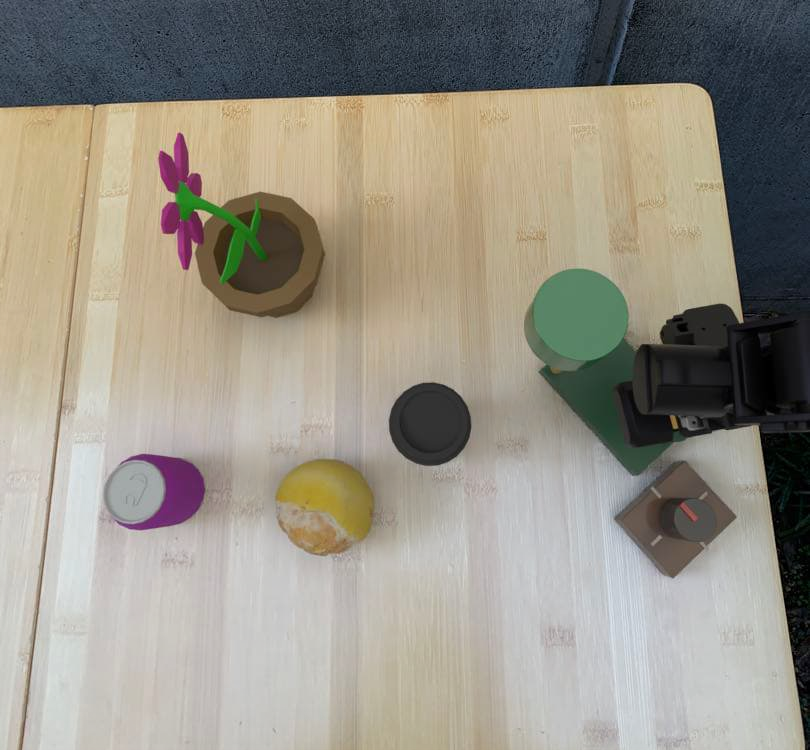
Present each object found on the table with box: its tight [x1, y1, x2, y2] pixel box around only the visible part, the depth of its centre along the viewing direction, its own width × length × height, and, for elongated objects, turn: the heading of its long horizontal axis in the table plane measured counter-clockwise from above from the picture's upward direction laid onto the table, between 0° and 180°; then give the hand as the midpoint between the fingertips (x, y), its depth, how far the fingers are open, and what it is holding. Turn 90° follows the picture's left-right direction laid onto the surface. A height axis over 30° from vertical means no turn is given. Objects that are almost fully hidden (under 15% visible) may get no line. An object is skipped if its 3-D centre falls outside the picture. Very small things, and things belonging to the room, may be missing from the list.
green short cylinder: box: [523, 268, 630, 371], centre depth 59 cm, size 8×8×5 cm
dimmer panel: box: [613, 460, 738, 579], centre depth 76 cm, size 9×10×3 cm
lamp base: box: [538, 337, 689, 477], centre depth 79 cm, size 16×10×4 cm, turn 40°
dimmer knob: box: [659, 498, 717, 542], centre depth 73 cm, size 4×4×5 cm
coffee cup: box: [388, 381, 472, 467], centre depth 73 cm, size 8×8×15 cm
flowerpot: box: [157, 132, 326, 318], centre depth 71 cm, size 14×14×30 cm
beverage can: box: [102, 453, 206, 531], centre depth 74 cm, size 8×8×12 cm
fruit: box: [274, 458, 376, 557], centre depth 74 cm, size 10×11×10 cm
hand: (683, 409), depth 73 cm, fingers closed
